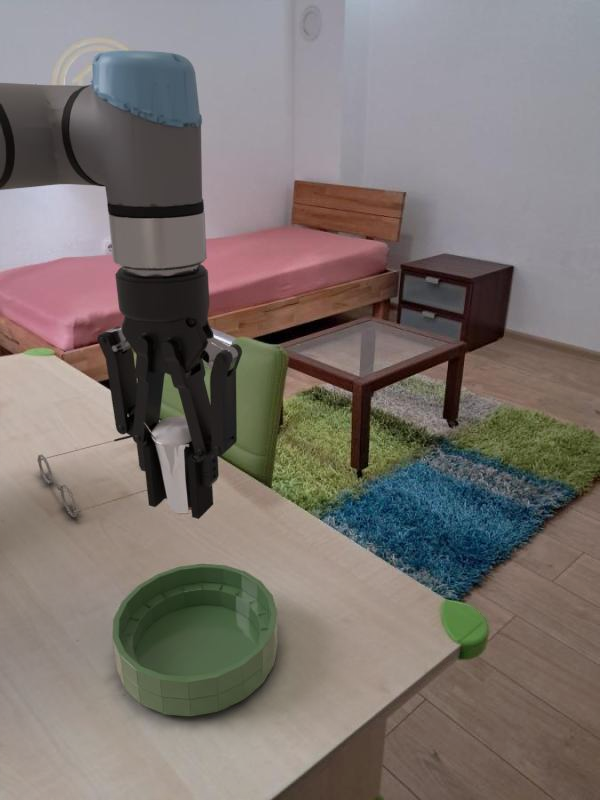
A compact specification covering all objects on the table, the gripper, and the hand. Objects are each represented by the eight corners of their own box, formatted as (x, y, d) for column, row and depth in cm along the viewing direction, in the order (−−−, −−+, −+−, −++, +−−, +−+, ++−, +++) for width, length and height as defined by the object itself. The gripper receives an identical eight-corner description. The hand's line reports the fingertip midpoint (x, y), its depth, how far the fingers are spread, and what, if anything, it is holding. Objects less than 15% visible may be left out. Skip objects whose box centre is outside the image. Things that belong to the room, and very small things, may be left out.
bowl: (83, 685, 62) (76, 647, 60) (176, 583, 75) (173, 549, 73) (229, 745, 56) (226, 705, 54) (300, 623, 70) (301, 587, 68)
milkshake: (145, 507, 62) (132, 414, 58) (192, 488, 65) (183, 399, 61) (168, 527, 59) (156, 431, 55) (217, 506, 62) (208, 413, 58)
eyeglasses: (36, 471, 99) (32, 448, 97) (149, 441, 109) (147, 420, 108) (75, 526, 86) (72, 501, 84) (199, 486, 96) (198, 463, 95)
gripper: (275, 266, 52) (277, 505, 62) (106, 249, 58) (131, 469, 68) (231, 286, 46) (241, 549, 55) (47, 264, 52) (84, 504, 62)
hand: (181, 504), depth 62 cm, fingers closed on milkshake, 4 cm apart
